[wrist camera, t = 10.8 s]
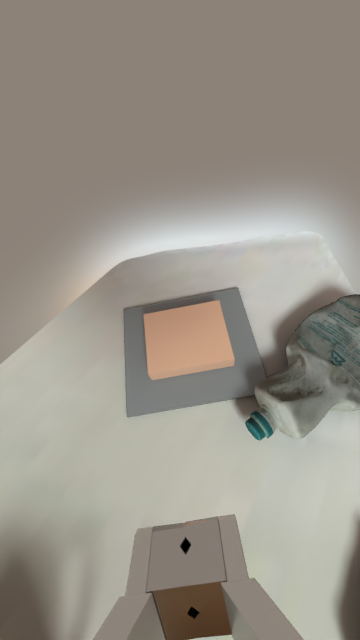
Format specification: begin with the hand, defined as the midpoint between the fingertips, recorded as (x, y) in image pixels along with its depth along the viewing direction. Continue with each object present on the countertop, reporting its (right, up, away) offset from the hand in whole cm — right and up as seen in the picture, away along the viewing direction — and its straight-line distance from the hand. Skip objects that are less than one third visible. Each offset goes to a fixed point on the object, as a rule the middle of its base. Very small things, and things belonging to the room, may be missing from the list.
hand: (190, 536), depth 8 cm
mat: (+1, +2, +33) cm, 33 cm away
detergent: (+18, -1, +29) cm, 34 cm away
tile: (+1, -1, +29) cm, 29 cm away
